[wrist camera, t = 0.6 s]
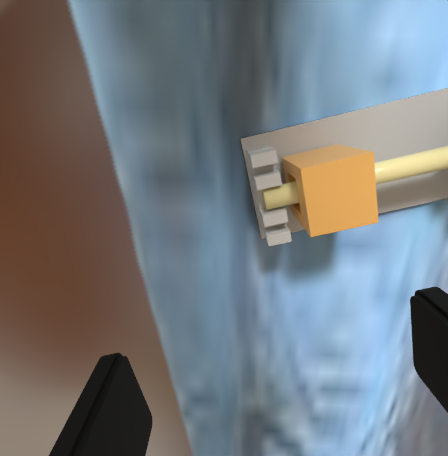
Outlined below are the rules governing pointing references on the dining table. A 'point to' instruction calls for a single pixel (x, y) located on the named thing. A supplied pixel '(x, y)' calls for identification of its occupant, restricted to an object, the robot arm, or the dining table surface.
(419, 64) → the dining table surface
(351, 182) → the sleeve
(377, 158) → the rail
